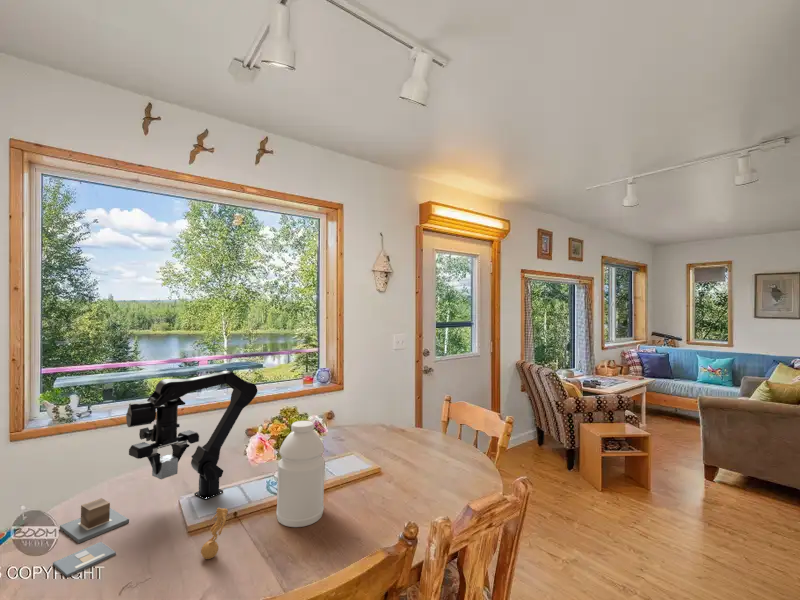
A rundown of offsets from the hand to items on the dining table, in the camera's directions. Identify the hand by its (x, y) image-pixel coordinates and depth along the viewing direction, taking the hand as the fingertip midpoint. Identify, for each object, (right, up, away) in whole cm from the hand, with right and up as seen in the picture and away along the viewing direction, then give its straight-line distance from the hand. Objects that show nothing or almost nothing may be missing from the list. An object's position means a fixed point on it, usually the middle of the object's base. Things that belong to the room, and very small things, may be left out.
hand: (164, 471), depth 123 cm
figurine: (+26, -12, -23) cm, 36 cm away
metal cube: (0, -1, 0) cm, 1 cm away
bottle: (+43, -13, -2) cm, 45 cm away
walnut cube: (-14, -10, -11) cm, 20 cm away
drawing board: (-5, -11, -25) cm, 28 cm away
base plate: (-14, -11, -11) cm, 20 cm away
